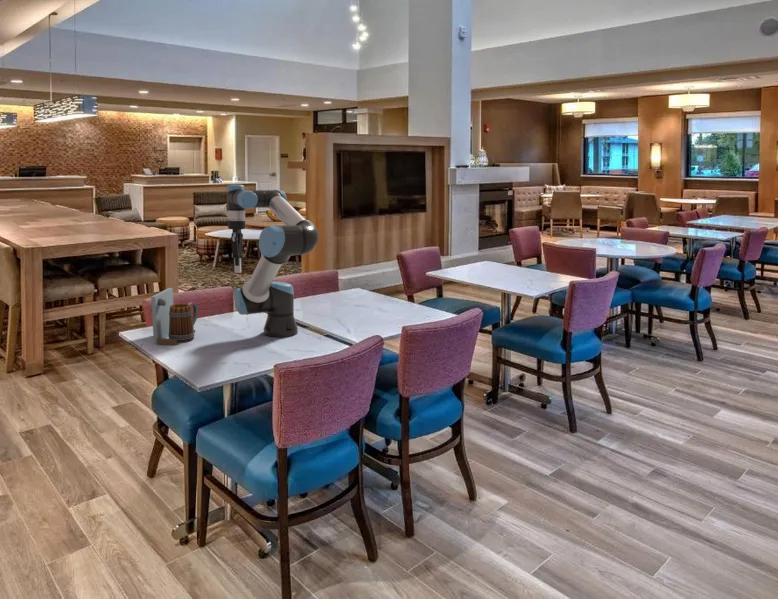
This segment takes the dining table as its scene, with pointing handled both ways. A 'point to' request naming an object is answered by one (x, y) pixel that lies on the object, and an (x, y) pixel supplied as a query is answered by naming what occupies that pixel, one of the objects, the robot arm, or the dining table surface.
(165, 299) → the door
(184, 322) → the mug
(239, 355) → the dining table surface
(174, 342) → the tan support feet
